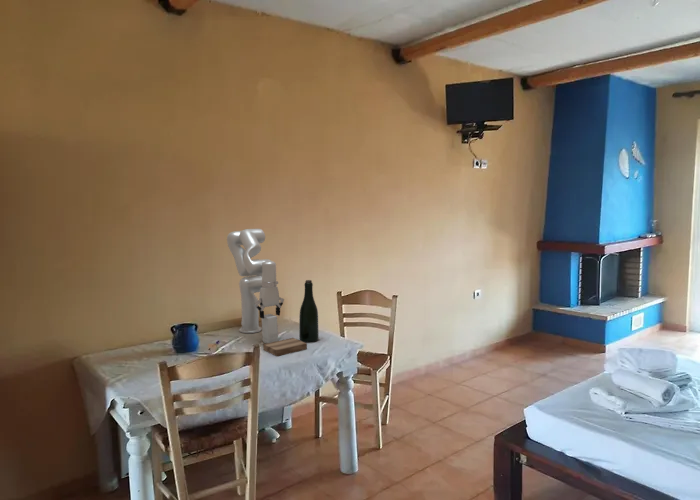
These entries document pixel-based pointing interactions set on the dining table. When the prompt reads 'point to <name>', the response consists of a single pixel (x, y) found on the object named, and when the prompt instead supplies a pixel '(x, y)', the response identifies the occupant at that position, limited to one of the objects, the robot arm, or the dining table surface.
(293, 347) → the walnut base
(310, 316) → the green wine bottle
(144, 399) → the dining table surface
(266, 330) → the skincare box
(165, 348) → the dining table surface
